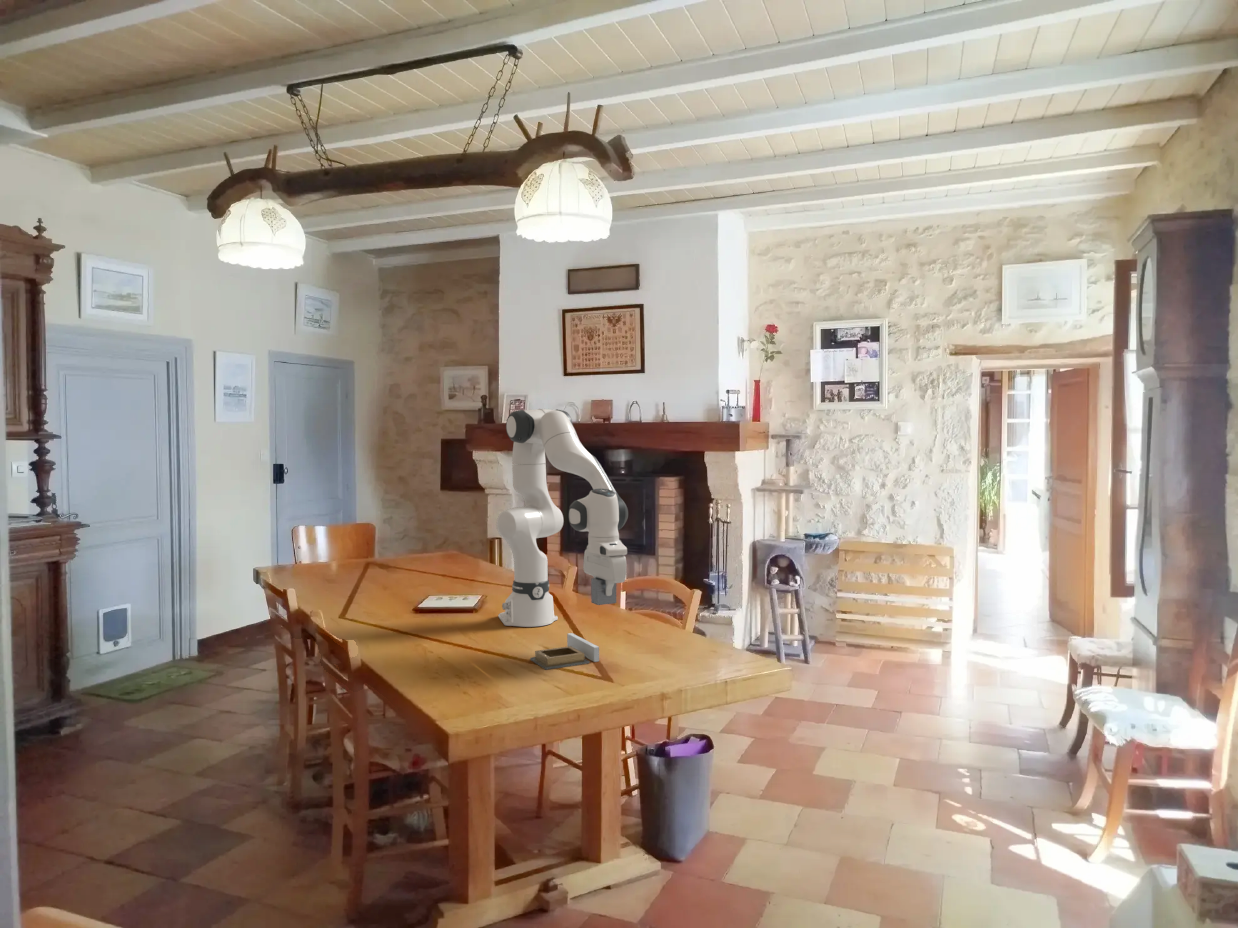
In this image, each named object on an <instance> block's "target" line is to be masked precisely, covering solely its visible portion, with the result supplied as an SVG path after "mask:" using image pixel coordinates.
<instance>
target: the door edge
mask: <svg viewBox="0 0 1238 928" xmlns="http://www.w3.org/2000/svg"><path fill="white" fill-rule="evenodd" d="M566 634H567V640H566V641H567V642H566V643H567V645H566V647H568V646H571V647H573V648H575V649H577V650H579V651H581V652H582V653H584V658H585V659H587V660H589V661H592V662H593V663H597V662H600V646H598V645H596V644H594V643H592V642H590V641H588V640H586V639H584V638H583V637H580V636H578V635H576V634H575V633H573V632H570V633H566Z"/></svg>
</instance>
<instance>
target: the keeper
mask: <svg viewBox="0 0 1238 928" xmlns="http://www.w3.org/2000/svg"><path fill="white" fill-rule="evenodd" d="M529 660H530V661H531V662H533V663H535V664H536V665H538V666H539V667H540V668H542V669H544V670H545V671H546V670H553V669H561V668H565V667H574V666H579V665H586V664H587V665H588V664H590V660H589V659H587V658H586V657H584V653H582V652H581V651H579V650H577V649H575V648H573V647H571V646H568V647H567V646H563V647H554V648H547V649H541V650H535V651H534V656H533V657H530V658H529Z"/></svg>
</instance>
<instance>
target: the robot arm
mask: <svg viewBox="0 0 1238 928" xmlns="http://www.w3.org/2000/svg"><path fill="white" fill-rule="evenodd" d="M505 430H506V434H507V436H508V438H509V439H510V441H512V442H513V447H512V456H511V457H512V459H511V462H512V465H511V466H512V468H511V470H512V486H513V489H514V490H515V492H516V493H518V494H519V495H521V497H522V498H523V502H524V505H523V506H516V507H515V506H514V507H512V508H509V509H505V510H503V511H501V512H500V513H499V514H498V516H497V519H496V524H495V525H496V530H497V533H498V535H499V536H500V537H501V538H502V539H503V540H504V541H505V542H506V543H507V544H508V546H509V548H510V551H511V555H512V558H513V559H512V560H513V571H514V573H513V575H514V579H513V580H512V586H511V587H512V588H511V591H512V592H511V593H510V594H509V595H508V596H507V598H506V599H505V602H502V606H501V607H502V610H503V612H500V613H499V614H498V618H499V620H500V621H501V622H502V623H503V625H504V626H510V627H511V626H513V627H524V628H525V627H526V628H531V627H532V628H533V627H543V626H547V625H550V624H552V623H553V622H554V621H555V622H556V621H558V615H555V611H554V610H555V608H554V598H553V595H552V594H550V592H549V591H550V580H549V579H548V578H549V577H548V575H549V574H548V573H549V572H548V571H549V570H548V568H549V565H548V564H549V563H548V561H549V560H548V556H547V555H546V554H545V553H544V552H543V551H542V550H540V549H539V547H538V544H537V539H539V538H547V537H551V536H553V535H555V534H558V533H559V532H560V531H561V530H562V528H563V526H564V515H563V512H562V511H561V509H560V508H559V507H557V506H556V504H555V503H554V502H553V499H552V497H551V495H550V493H549V490H548V489H549V488H548V484H547V483H548V482H547V467H546V465H547V463H546V461H547V460H548V461H549V463H550V464H551V465H552V466H553V467H554V468H556V469H557V470H559V471H562V472H566V473H569V474H573V475H576V476H579V477H581V478H583V479H585V480H586V481H587V482H588V483H589V484H590V486H591V487H592V489H591V490H590V491H589V493H588V494H587V495H586V496H585V497H582V498H579V499H577V500H576V499H575V500H574V501H573V502H572V503H571V504H570V505H569V508H568V511H567V519H568V523H569V525H570V527H571V528H573V529H574V530H575V532H576V531H577V532H588V534H587V535H588V536H587V538H588V541H587V543H588V544H587V545H586V548H585V550H584V554H583V572H584V574H587V575H590V576H592V577H593V578H601V579H604V580H606V589H604V594H605V595H606V596H611V595H612V589H613V586H614V583H616V584H620V583H624V582H625V581H626V579H627V558H626V555H628V548H627V546H625V545H624V543H623V542H622V540H621V539H620V533H619V530H621V529H622V528H623V527H624V526H625V524H626V523H627V521H628V518H629V509H628V507H627V504H626V503H625V501H624V500H623V499H622V498H621V496H620V495H619V493H618V492H617V491H616V489H615V488H614V486H613V484H612V482H611V480H610V479H609V477H608V475H607V473H606V472H605V470H604V468H603V467H602V464H601V463H600V462H599V461H598V459H597V457H596V456H594V455H593V454H591V453H590V452H589V451H588V450H587V449H586V448H585V446H584V445H583V444H582V442H581V441H580V439H579V436H578V434H577V431H576V429H575V427H574V424H573V419H572V417H571V415H570V413H568V412H567V411H565V410H562V409H549V408H536V409H525V410H523V409H520V410H514V411H511V413H510V414H509V415H508V417H507V418H506V424H505ZM546 458H547V460H546Z"/></svg>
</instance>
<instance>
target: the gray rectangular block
mask: <svg viewBox="0 0 1238 928" xmlns="http://www.w3.org/2000/svg"><path fill="white" fill-rule="evenodd" d="M590 582H591V583H590V584H591V585H590V586H591V590H590V591H591V595H590V597H591V599H590V600H591V601H590V602H591V604H594V605H597V606H603V605H612V604H617V583H614V586H613V589H612V595H611V596H606V595H605V594H604V589H606V580H604V579H601V578H591V581H590Z"/></svg>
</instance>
